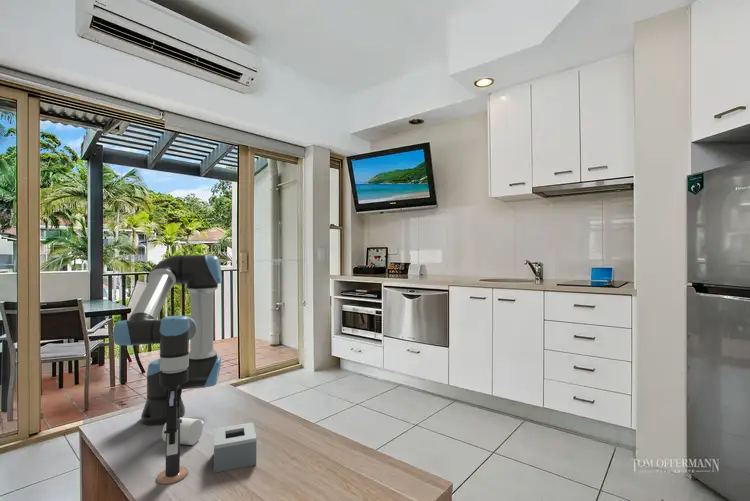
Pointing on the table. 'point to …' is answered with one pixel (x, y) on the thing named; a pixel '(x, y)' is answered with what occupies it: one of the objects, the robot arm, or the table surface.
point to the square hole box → (234, 447)
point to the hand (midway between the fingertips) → (173, 450)
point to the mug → (188, 431)
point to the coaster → (169, 480)
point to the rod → (173, 457)
